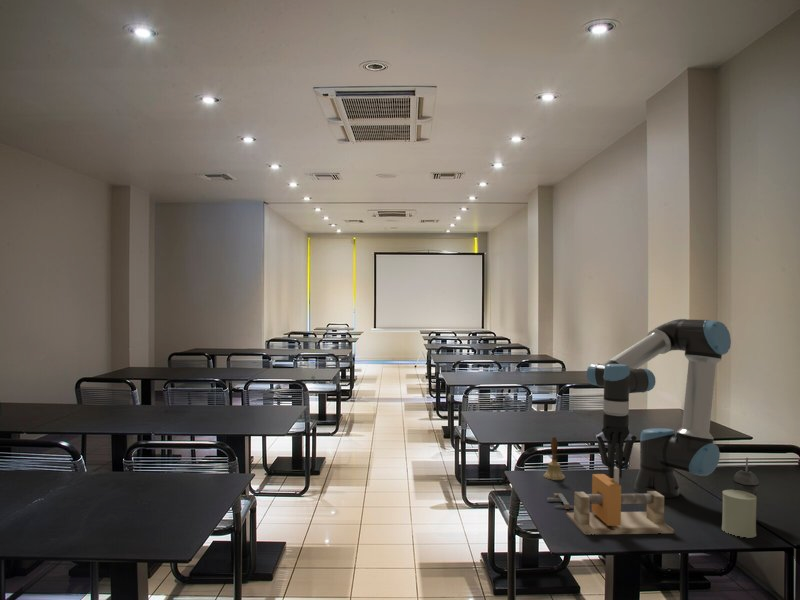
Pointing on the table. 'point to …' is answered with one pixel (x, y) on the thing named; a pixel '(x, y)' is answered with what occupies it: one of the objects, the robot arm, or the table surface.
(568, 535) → the table surface
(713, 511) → the table surface
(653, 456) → the robot arm
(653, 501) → the pipe rig
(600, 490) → the orange slotted block
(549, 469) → the hand bell
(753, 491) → the beverage cup
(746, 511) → the pale green cylinder
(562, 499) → the clamp
